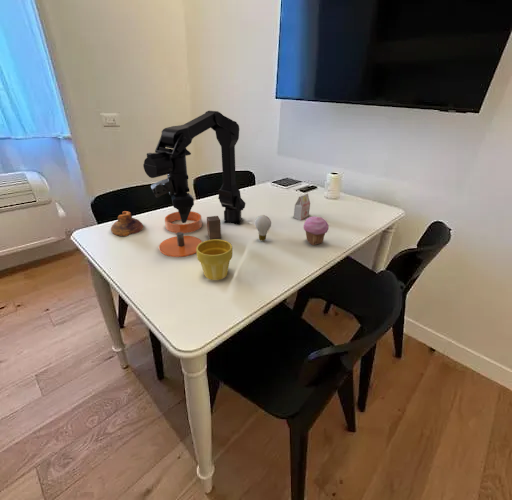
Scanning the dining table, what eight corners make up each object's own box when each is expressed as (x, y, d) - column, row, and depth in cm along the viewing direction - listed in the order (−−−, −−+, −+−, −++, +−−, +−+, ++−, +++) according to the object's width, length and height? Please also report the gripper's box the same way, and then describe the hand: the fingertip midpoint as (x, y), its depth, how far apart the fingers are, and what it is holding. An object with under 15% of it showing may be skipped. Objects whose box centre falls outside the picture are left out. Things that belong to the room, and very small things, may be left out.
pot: (206, 221, 127) (206, 212, 125) (194, 236, 115) (193, 226, 113) (175, 218, 129) (174, 209, 127) (159, 232, 117) (158, 222, 115)
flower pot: (199, 266, 96) (197, 238, 91) (232, 265, 97) (232, 238, 92) (197, 285, 87) (194, 255, 82) (233, 284, 88) (232, 255, 83)
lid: (208, 240, 112) (207, 226, 109) (193, 260, 99) (192, 245, 96) (170, 236, 114) (168, 222, 111) (151, 255, 101) (148, 240, 99)
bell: (130, 238, 112) (126, 220, 108) (104, 233, 115) (100, 215, 112) (150, 226, 121) (147, 209, 118) (126, 222, 125) (122, 205, 121)
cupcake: (311, 249, 107) (314, 224, 102) (297, 239, 114) (299, 215, 109) (330, 244, 111) (334, 219, 106) (316, 235, 118) (319, 211, 113)
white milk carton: (293, 217, 133) (295, 196, 128) (301, 213, 137) (304, 192, 133) (300, 220, 131) (302, 198, 126) (308, 215, 135) (311, 194, 131)
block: (218, 234, 116) (217, 215, 112) (221, 239, 113) (220, 219, 109) (207, 236, 115) (206, 216, 111) (210, 241, 111) (208, 221, 108)
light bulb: (272, 238, 114) (273, 214, 110) (267, 245, 110) (268, 219, 105) (257, 236, 116) (258, 211, 111) (252, 242, 111) (252, 217, 106)
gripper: (149, 165, 100) (155, 210, 107) (152, 181, 84) (159, 231, 92) (183, 164, 103) (187, 207, 111) (192, 178, 88) (196, 227, 95)
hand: (182, 217), depth 102 cm, fingers open, 9 cm apart
